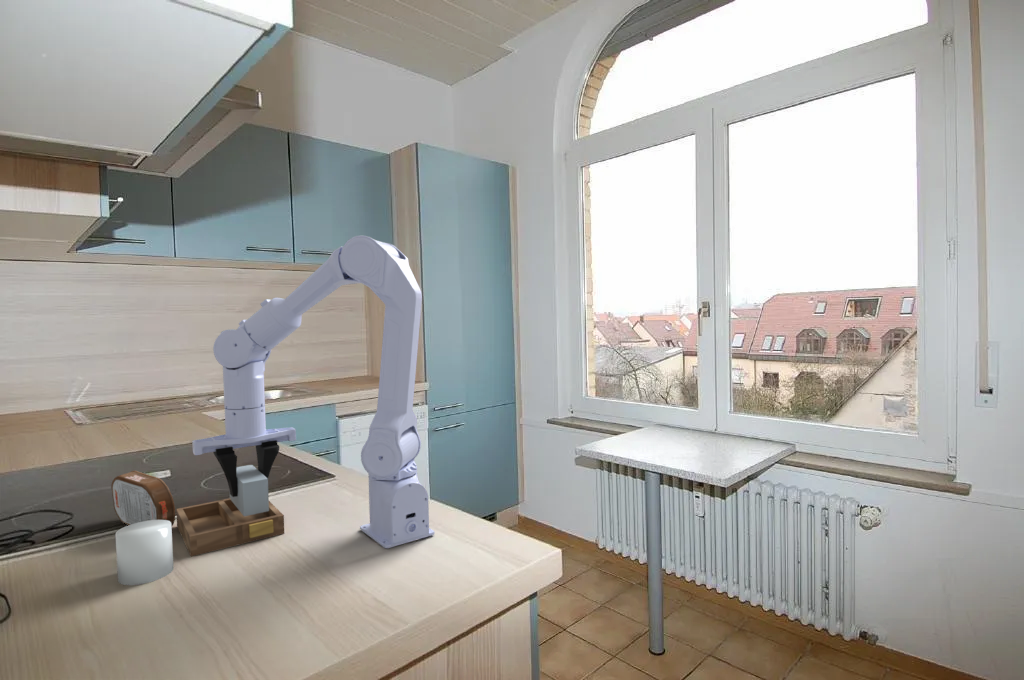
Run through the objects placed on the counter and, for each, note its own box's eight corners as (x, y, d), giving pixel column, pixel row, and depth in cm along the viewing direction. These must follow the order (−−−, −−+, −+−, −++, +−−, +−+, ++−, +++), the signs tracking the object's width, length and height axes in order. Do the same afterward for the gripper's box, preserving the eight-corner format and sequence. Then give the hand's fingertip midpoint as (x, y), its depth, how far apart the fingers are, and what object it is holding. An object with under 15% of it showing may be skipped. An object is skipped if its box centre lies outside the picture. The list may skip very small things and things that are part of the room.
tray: (285, 534, 84) (284, 516, 84) (191, 558, 76) (190, 538, 76) (260, 508, 95) (260, 492, 95) (177, 526, 88) (176, 508, 88)
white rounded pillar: (176, 575, 71) (174, 529, 71) (119, 590, 68) (116, 542, 67) (170, 559, 76) (168, 516, 76) (116, 572, 72) (114, 527, 72)
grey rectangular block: (269, 510, 85) (267, 478, 84) (244, 516, 82) (242, 483, 82) (253, 494, 93) (251, 464, 92) (229, 498, 90) (228, 468, 90)
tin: (178, 534, 85) (175, 479, 84) (156, 541, 82) (153, 485, 82) (130, 516, 93) (128, 466, 92) (109, 522, 90) (106, 471, 90)
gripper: (285, 398, 94) (288, 477, 95) (187, 408, 85) (191, 495, 86) (298, 403, 89) (301, 487, 89) (195, 415, 80) (199, 508, 81)
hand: (248, 492), depth 87 cm, fingers closed on grey rectangular block, 3 cm apart
